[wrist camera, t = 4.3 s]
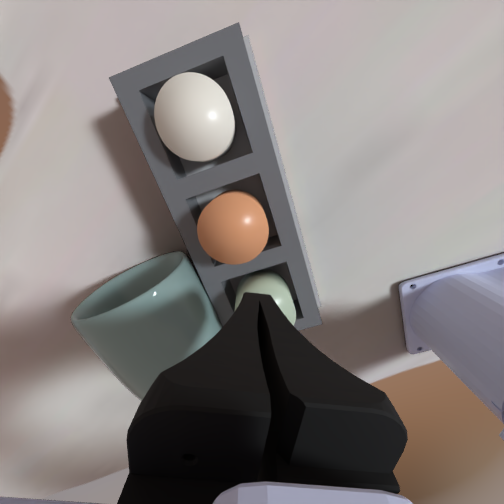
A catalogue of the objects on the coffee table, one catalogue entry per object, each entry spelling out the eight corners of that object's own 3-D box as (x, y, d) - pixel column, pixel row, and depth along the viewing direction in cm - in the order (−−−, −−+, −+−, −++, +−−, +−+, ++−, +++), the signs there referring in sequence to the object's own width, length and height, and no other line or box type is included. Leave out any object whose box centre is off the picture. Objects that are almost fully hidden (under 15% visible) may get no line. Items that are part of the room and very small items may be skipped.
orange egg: (254, 181, 15) (255, 184, 12) (272, 237, 16) (277, 252, 14) (197, 201, 16) (185, 209, 13) (219, 254, 17) (213, 272, 14)
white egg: (222, 80, 14) (216, 58, 11) (244, 149, 15) (243, 146, 12) (161, 104, 14) (139, 90, 12) (188, 170, 16) (174, 171, 13)
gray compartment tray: (248, 41, 15) (247, 7, 11) (319, 301, 21) (331, 326, 18) (126, 91, 15) (94, 73, 12) (230, 326, 22) (227, 354, 19)
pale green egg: (280, 262, 17) (286, 282, 14) (294, 307, 18) (302, 333, 16) (228, 278, 18) (224, 300, 15) (246, 321, 19) (245, 348, 16)
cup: (140, 451, 16) (37, 342, 12) (166, 361, 23) (107, 277, 20) (247, 408, 16) (174, 285, 12) (240, 331, 23) (193, 241, 19)
